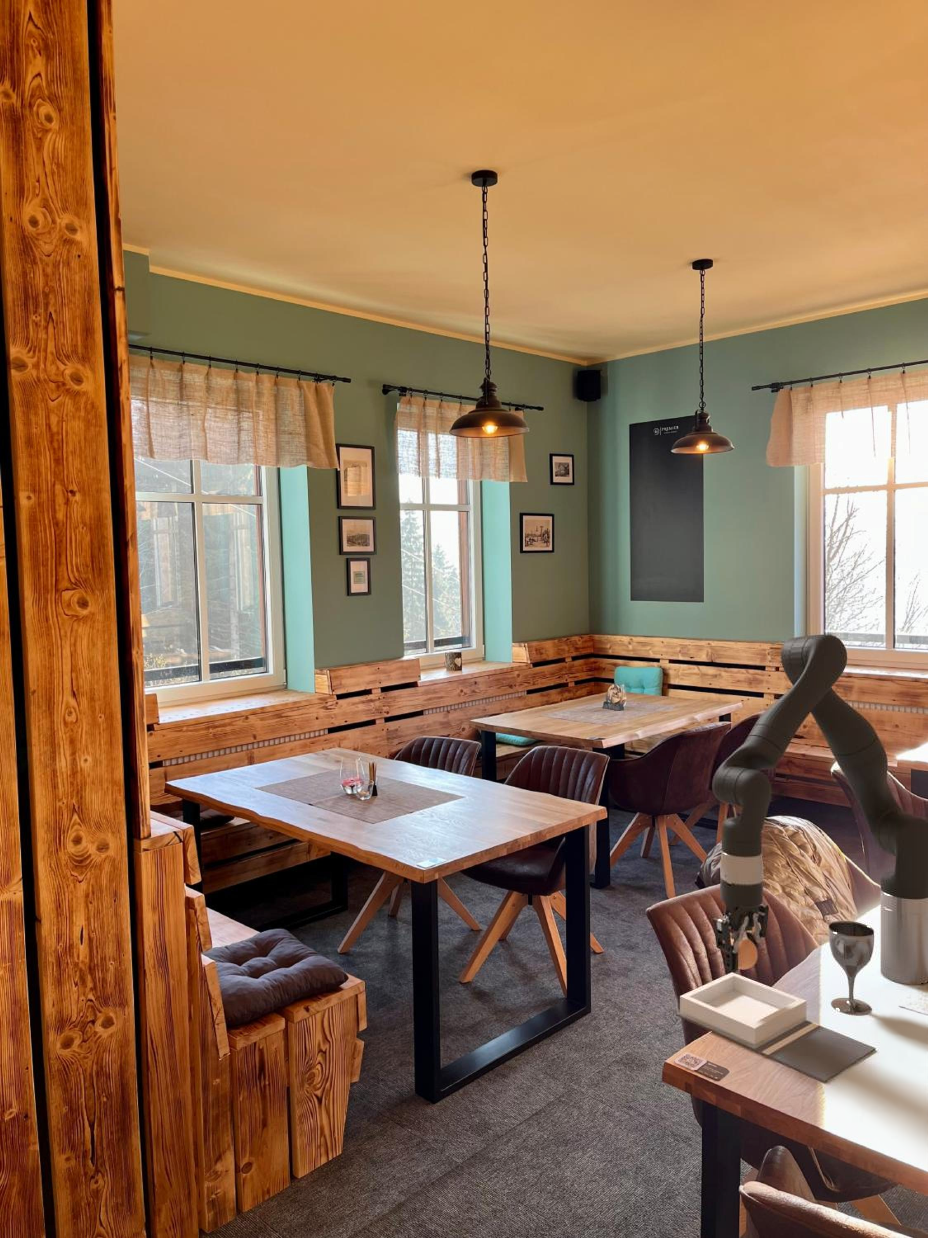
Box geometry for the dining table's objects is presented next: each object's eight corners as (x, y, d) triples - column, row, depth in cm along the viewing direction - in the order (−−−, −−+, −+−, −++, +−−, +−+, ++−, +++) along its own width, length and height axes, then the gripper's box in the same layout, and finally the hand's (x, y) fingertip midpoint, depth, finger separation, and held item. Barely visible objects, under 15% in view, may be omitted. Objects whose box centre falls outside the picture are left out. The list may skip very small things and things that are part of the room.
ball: (737, 959, 171) (738, 930, 171) (763, 969, 167) (764, 939, 167) (719, 967, 168) (719, 937, 168) (745, 977, 163) (745, 946, 163)
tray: (732, 990, 179) (732, 972, 179) (806, 1020, 166) (806, 1001, 166) (680, 1015, 169) (679, 996, 169) (754, 1049, 156) (754, 1028, 156)
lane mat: (727, 990, 180) (727, 988, 180) (875, 1050, 156) (875, 1047, 156) (675, 1015, 170) (675, 1013, 170) (824, 1083, 146) (824, 1080, 146)
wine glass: (819, 1001, 174) (819, 924, 174) (851, 994, 177) (851, 918, 177) (850, 1020, 167) (850, 939, 166) (883, 1012, 170) (883, 932, 169)
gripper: (747, 863, 174) (747, 950, 175) (700, 879, 165) (700, 970, 166) (782, 873, 168) (782, 963, 169) (735, 889, 159) (735, 984, 160)
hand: (741, 966), depth 167 cm, fingers closed on ball, 5 cm apart
